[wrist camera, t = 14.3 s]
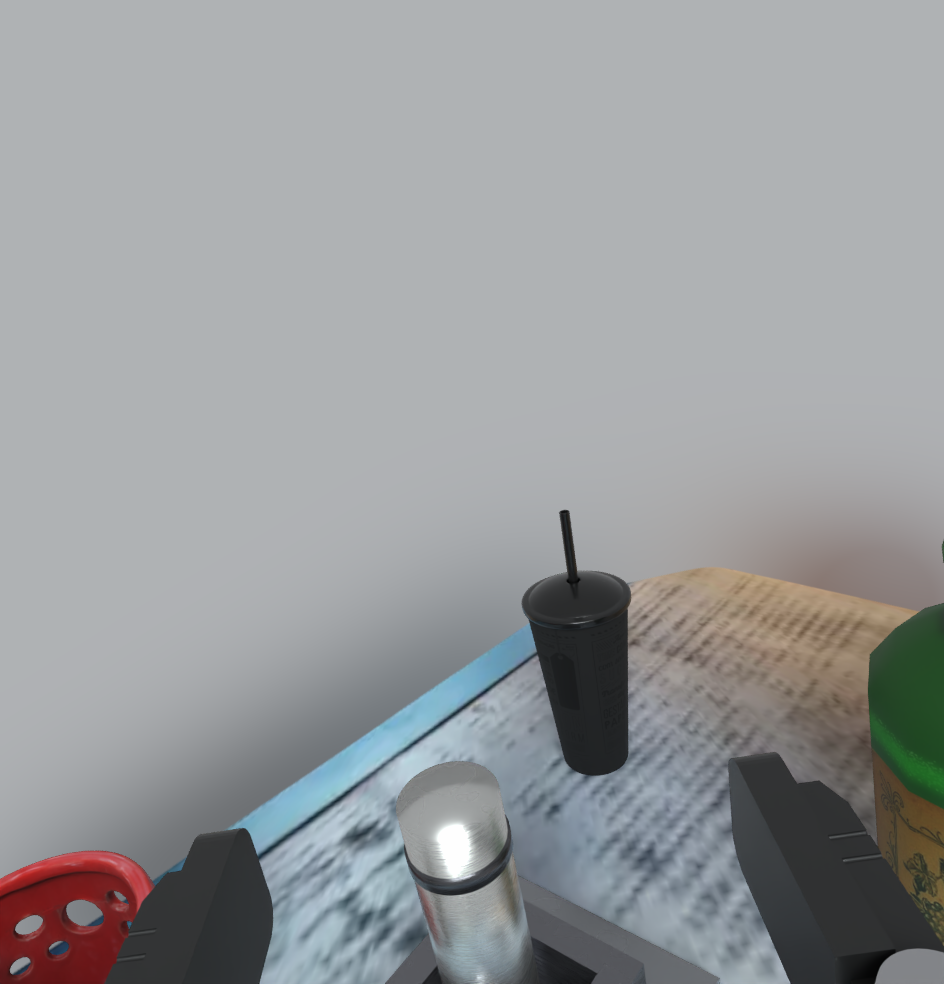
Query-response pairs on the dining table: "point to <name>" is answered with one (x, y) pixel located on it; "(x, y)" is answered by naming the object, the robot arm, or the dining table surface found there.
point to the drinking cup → (584, 659)
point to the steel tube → (466, 875)
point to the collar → (573, 950)
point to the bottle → (911, 756)
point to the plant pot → (46, 893)
